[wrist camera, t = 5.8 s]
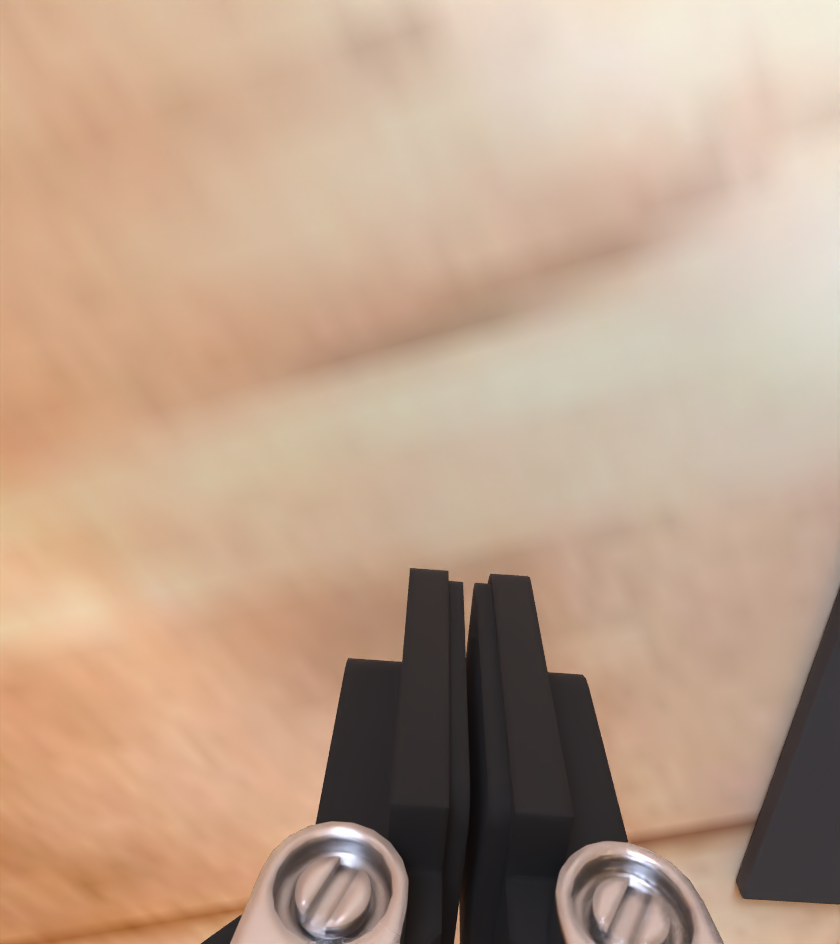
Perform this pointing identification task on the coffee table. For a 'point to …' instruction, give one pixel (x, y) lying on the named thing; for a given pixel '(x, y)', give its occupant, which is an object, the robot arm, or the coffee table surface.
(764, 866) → the mat
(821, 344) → the coffee table surface
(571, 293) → the coffee table surface
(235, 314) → the coffee table surface
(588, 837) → the robot arm
